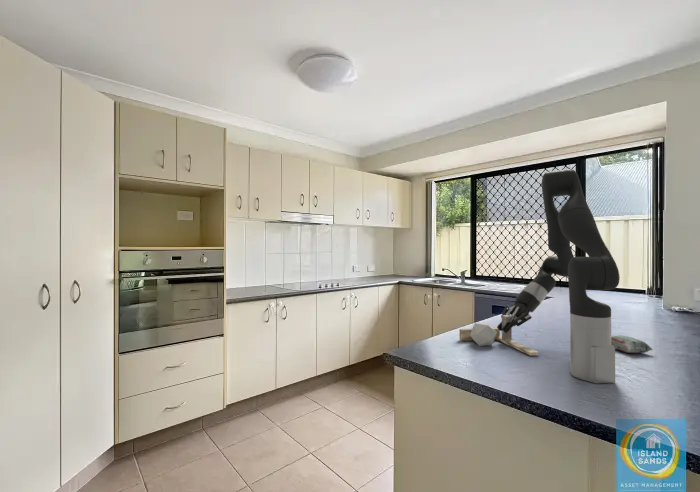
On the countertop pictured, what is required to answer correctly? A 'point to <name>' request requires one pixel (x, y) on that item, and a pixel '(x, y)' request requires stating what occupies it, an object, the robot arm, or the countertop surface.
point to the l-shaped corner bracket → (501, 337)
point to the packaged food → (629, 344)
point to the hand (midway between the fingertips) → (501, 330)
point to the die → (483, 334)
